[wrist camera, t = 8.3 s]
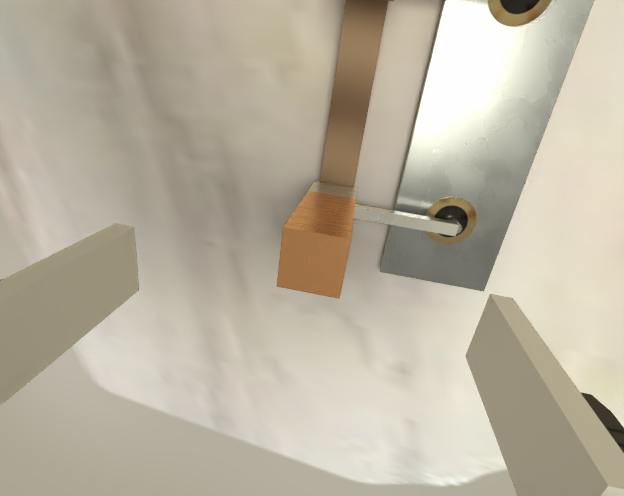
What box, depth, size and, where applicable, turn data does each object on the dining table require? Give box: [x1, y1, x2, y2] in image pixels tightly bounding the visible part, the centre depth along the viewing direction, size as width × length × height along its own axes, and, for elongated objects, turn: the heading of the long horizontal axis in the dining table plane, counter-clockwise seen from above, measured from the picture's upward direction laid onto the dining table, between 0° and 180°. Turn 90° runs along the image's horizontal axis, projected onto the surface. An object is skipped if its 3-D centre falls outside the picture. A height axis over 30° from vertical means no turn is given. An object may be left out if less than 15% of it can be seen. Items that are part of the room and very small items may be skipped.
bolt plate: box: [380, 0, 594, 291], centre depth 23 cm, size 24×8×1 cm, turn 172°
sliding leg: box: [277, 181, 462, 299], centre depth 21 cm, size 3×10×11 cm, turn 82°
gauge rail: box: [320, 0, 394, 187], centre depth 21 cm, size 28×10×7 cm, turn 172°
